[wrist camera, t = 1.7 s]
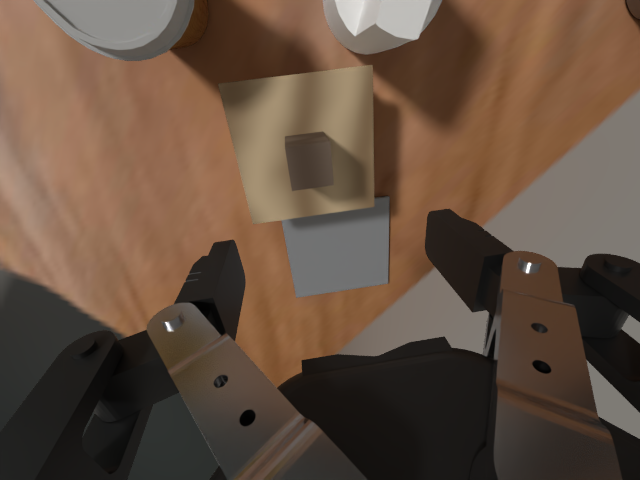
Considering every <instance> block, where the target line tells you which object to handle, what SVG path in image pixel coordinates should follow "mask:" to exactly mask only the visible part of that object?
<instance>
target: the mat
mask: <svg viewBox="0 0 640 480" xmlns="http://www.w3.org/2000/svg"><path fill="white" fill-rule="evenodd" d="M282 225H283V231H284V236H285V241H286V246H287V251H288V257H289V262H290V267H291V272H292V277H293V282H294V288H295V293H296V298H297V297H304V296H310V295H317V294H323V293H330V292H336V291H343V290H349V289H355V288H362V287H368V286H375V285H381V284H388V258H389V196H383V197H376V198H374V207H370V208H363V209H356V210H349V211H342V212H335V213H328V214H321V215H314V216H307V217H300V218H293V219H286V220H282Z"/></svg>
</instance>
